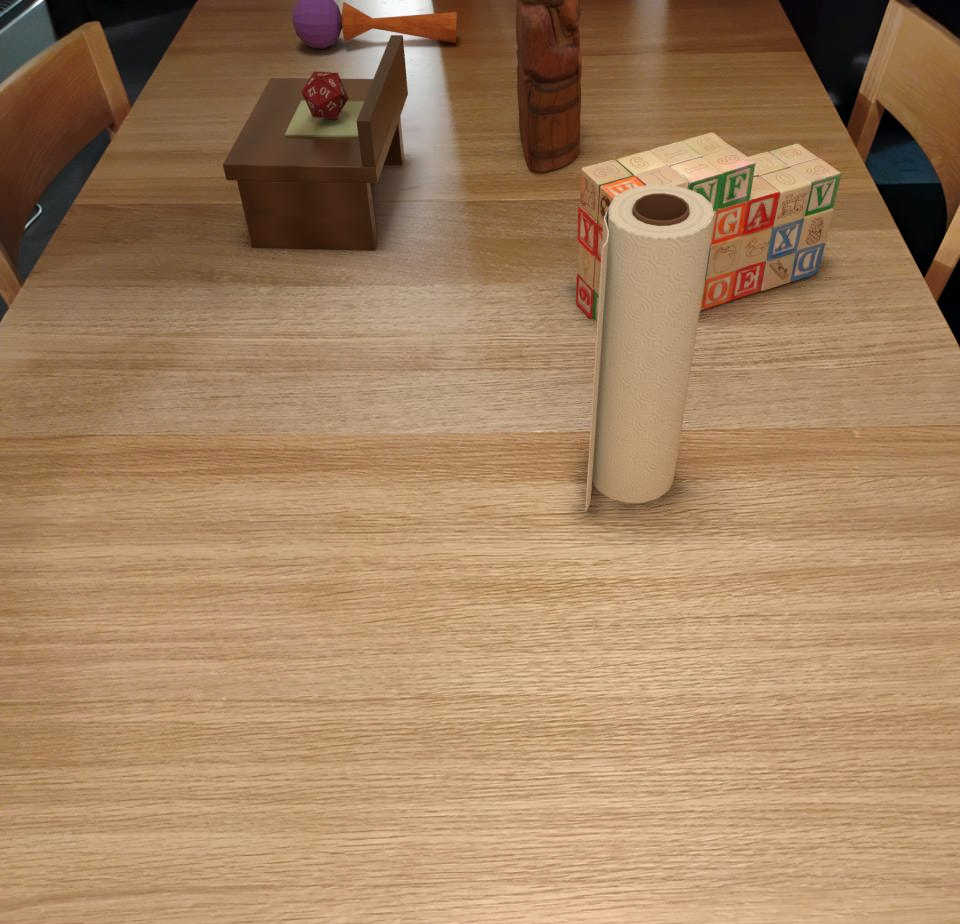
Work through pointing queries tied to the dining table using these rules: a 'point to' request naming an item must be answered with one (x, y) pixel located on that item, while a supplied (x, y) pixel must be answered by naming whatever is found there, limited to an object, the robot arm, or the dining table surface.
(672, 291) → the paper towel roll
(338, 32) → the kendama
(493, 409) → the dining table surface
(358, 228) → the miniature wooden chair
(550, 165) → the wooden figurine
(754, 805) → the dining table surface
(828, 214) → the stack of blocks
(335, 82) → the dice
